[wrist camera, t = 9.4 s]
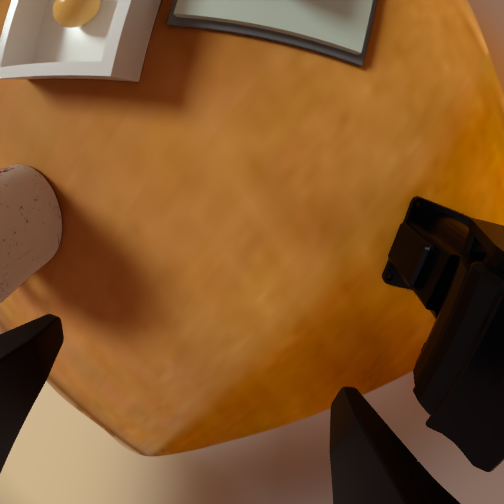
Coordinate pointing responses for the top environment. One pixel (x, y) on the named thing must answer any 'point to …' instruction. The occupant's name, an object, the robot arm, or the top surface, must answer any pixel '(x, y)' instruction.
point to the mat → (275, 35)
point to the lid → (291, 18)
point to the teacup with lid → (26, 225)
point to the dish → (76, 39)
